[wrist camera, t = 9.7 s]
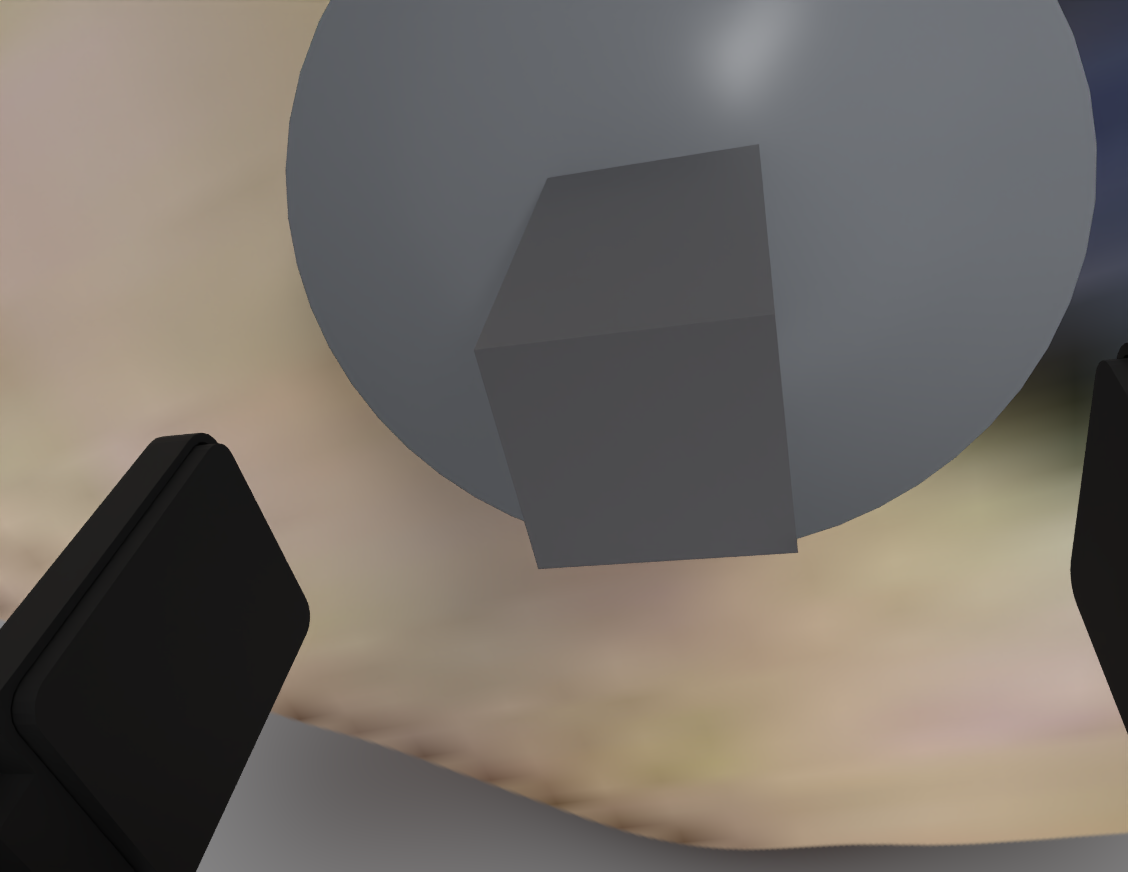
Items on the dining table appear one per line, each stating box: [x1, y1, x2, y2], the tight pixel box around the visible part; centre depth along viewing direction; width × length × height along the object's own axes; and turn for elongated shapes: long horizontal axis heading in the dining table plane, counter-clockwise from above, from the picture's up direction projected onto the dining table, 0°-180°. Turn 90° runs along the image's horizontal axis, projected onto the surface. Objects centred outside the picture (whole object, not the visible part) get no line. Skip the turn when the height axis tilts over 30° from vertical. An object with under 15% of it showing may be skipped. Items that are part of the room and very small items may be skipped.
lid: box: [286, 0, 1097, 569], centre depth 15 cm, size 14×14×7 cm
